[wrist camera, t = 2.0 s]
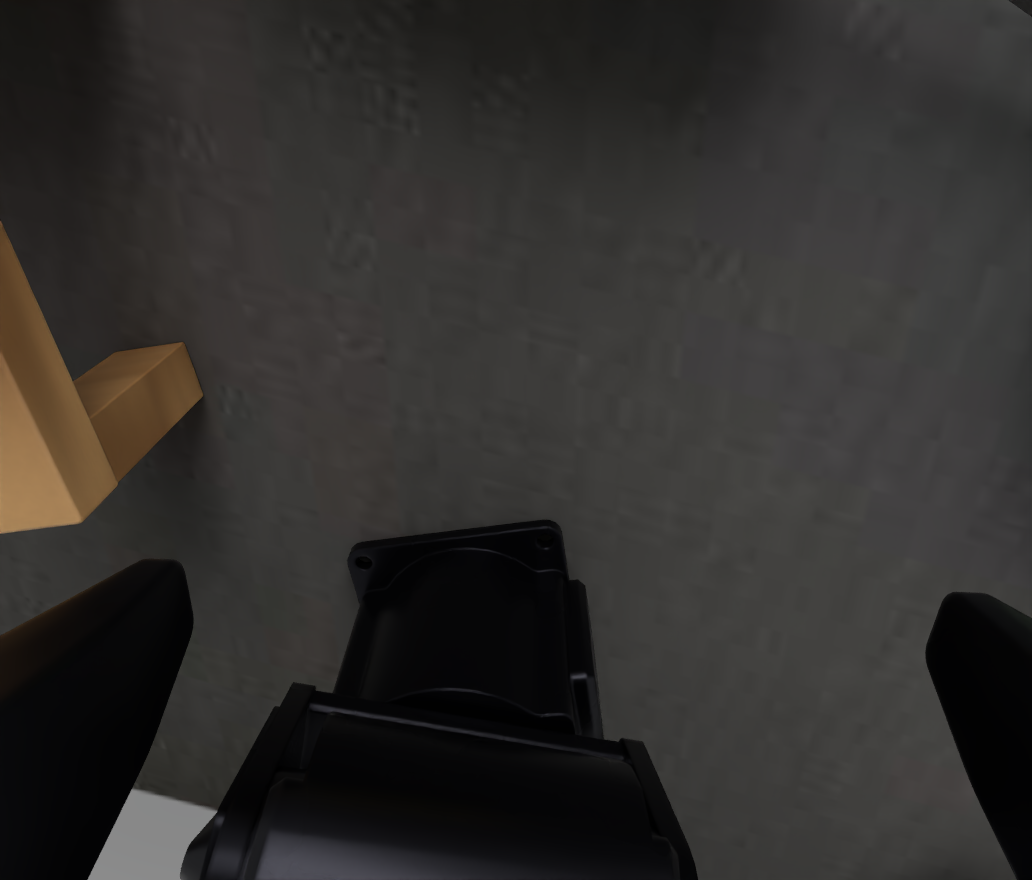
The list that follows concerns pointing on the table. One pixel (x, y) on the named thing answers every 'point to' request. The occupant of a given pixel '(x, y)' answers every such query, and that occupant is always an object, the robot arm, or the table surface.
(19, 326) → the wooden blocks
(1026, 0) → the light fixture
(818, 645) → the table surface
